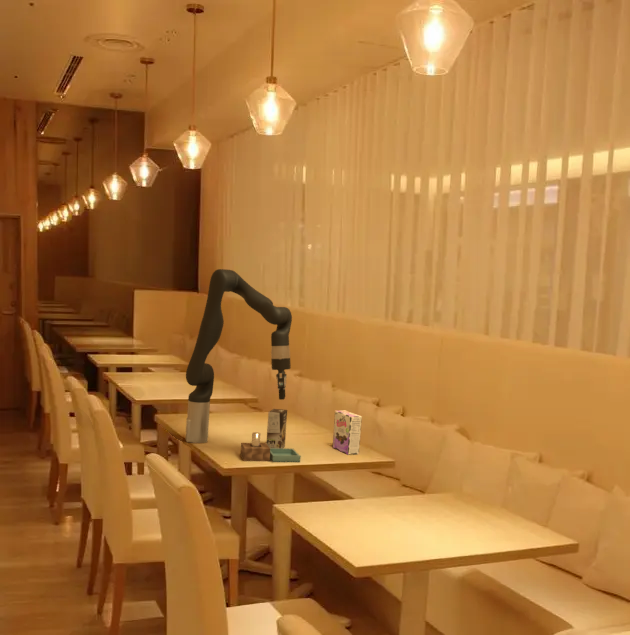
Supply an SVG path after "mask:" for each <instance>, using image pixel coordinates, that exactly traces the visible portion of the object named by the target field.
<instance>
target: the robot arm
mask: <svg viewBox="0 0 630 635" xmlns="http://www.w3.org/2000/svg"><path fill="white" fill-rule="evenodd" d="M225 292H226V293H227V292H231V293H234V294H237V295H238V296H240V297H241V298H243V300H244V302H245V303H246V304H247V306H248V307H249V308H251V309H253V310H254V311H255V312H257V313H258V314H260V315H261V317H263V319H264V320H265V321H266V322H267V323H269V324H271V325H273V326H276V329H275V331H273V332H271V335H270V338H271V339H270V340H271V342H270V343H271V345H270V346H271V347H270V348H271V349H270V350H271V351H270V356H271V357H270V358H271V359H270V360H271V361H270V362H271V370H272V371H277V374H276V375H275V376H276V385H277V389H278V400H281V401H283V400H285V399H286V388H287V387H286V385H287V373H286V372H285V370H291V368H292V367H291V349H290V332H291V327H292V322H293V321H292V320H293V317H292V312H291V310H290V309H289V308H288V307H286V306H275V305H274V302H273V301H272V300H271V299H270V298H269V297H267V296H266V295H265V294H262V293H261V292H259V291H258V290H256V289H255V288H254V287H252V286H251V285H250V284H249V283H248V282H247V281H246V280H245V279H243V277H242V276H241V275H239V274H238V272H236V271H234V270H233V269H224V268H222V269H219V268H218V269H216V270H214V271H213V272H212V275H211V276H210V280H209V286H208V292H207V298H206V303H205V307H204V311H203V312H204V313H203V315H202V319H201V321H200V322H201V323H200V326H199V330H198V334H197V338H196V341H195V345H194V349H193V351H192V354H191V358H190V359H189V362H188V364H187V367H186V371H185V379H186V382H187V384H188V385H189V386H192V387H195V386H196V387H195V389H193V391H192V392H190V393H189V394H188V399H187V416H186V422H185V423H186V425H185V441H186V442H187V443H193V444H195V443H196V444H203V443H208V441H209V440H208V439H209V425H210V410H211V409H210V408H211V397H212V395H213V392H214V390H213V389H214V382H215V371H214V370H215V369H214V368H213V366H212V365H211V364H209V363H206V361H207V358H208V356H209V354H210V353H211V352H212V350H213V349H214V348H215V346H216V344H217V343H218V342H219V340H220V338H221V335H222V332H223V328H224V324H225V323H224V321H225V320H224V316H223V310H222V302H223V296H224V294H225Z"/></svg>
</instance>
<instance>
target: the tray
mask: <svg viewBox="0 0 630 635" xmlns="http://www.w3.org/2000/svg"><path fill="white" fill-rule="evenodd" d="M270 461H271V462H272V463H301V455H300V454H299V453H298V452H297V451H296V450H295V449H294V448H270Z"/></svg>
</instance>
